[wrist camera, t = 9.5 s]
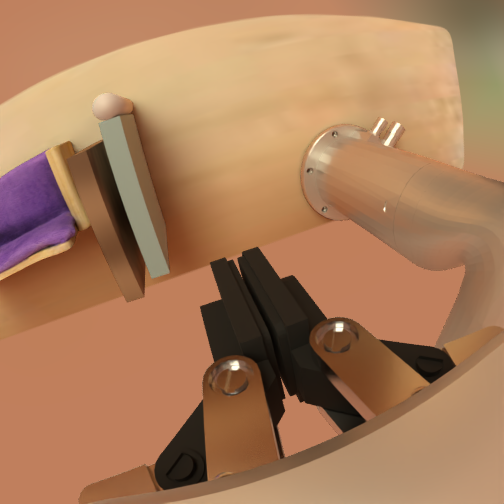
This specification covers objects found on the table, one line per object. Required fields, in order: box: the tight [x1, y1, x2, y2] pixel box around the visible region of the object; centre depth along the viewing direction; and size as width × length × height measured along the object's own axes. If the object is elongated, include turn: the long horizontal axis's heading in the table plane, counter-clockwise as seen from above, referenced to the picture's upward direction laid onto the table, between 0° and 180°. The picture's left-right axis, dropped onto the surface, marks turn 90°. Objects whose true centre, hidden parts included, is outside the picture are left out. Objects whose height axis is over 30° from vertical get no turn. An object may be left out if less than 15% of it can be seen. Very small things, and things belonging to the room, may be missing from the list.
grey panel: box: [92, 93, 170, 278], centre depth 26 cm, size 2×15×11 cm, turn 11°
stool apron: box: [67, 140, 145, 302], centre depth 26 cm, size 12×2×12 cm, turn 12°
